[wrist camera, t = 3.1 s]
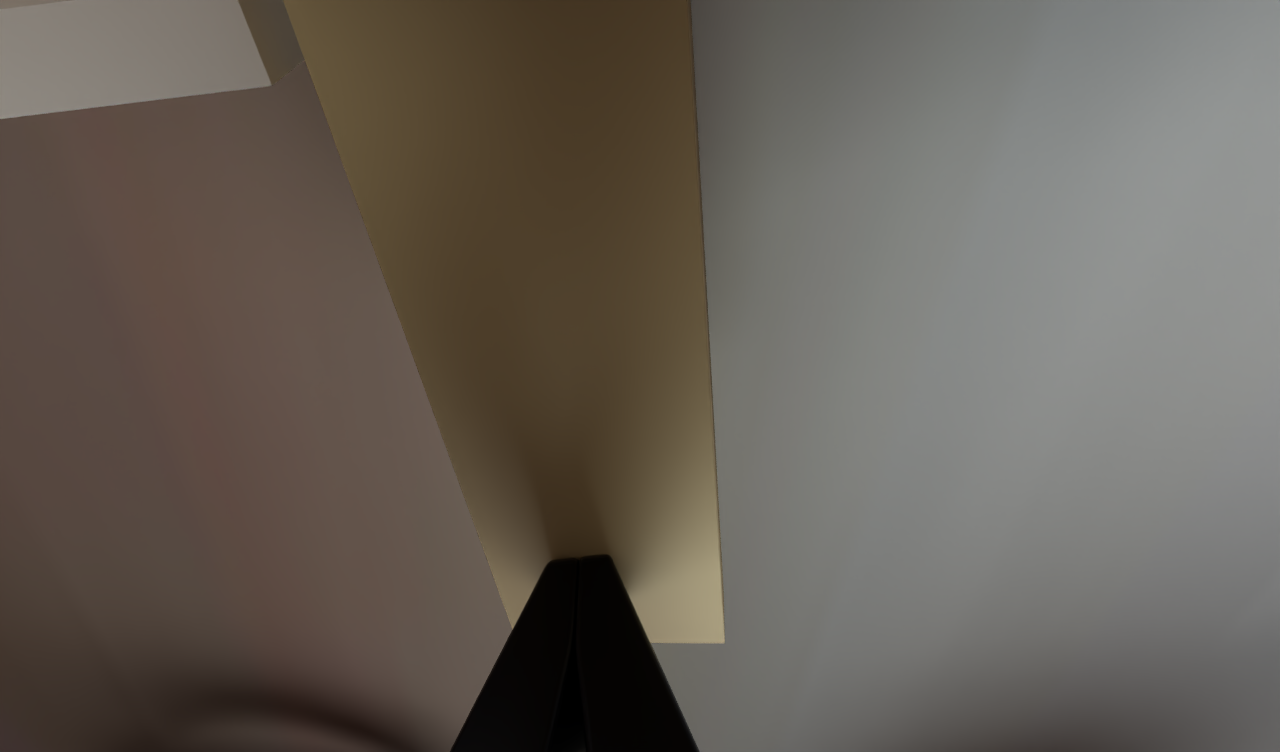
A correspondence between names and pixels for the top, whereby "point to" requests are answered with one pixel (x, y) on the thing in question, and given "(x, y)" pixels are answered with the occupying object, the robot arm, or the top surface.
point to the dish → (137, 51)
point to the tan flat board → (545, 272)
